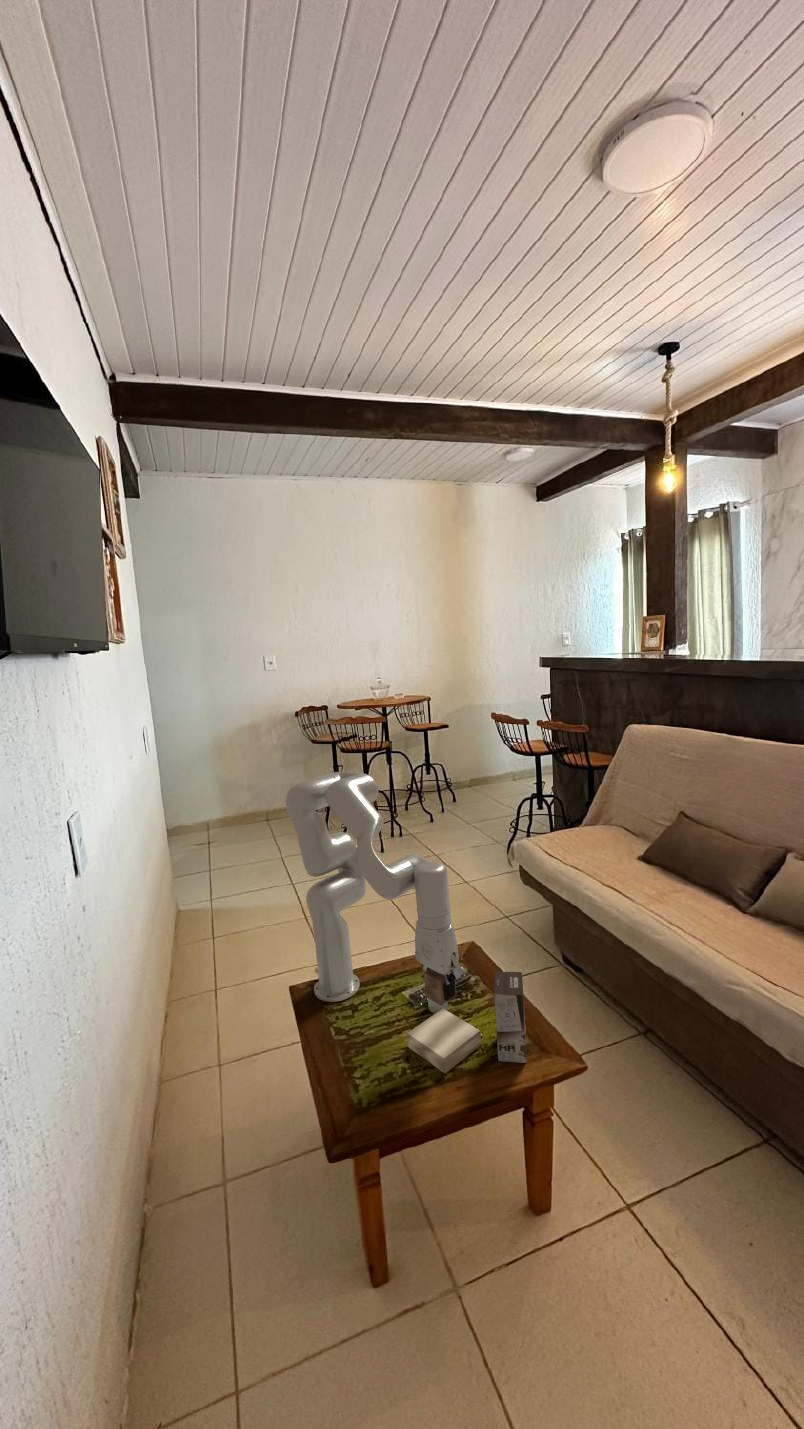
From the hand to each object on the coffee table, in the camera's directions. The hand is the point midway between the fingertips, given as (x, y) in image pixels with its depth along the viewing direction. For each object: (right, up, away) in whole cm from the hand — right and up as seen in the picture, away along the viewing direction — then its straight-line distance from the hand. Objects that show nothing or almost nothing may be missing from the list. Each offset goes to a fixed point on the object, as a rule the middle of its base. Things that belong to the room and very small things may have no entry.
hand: (440, 991), depth 128 cm
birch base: (+1, -14, +2) cm, 14 cm away
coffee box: (+16, -13, -1) cm, 21 cm away
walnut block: (0, -1, 0) cm, 1 cm away
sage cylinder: (0, -12, +16) cm, 20 cm away
